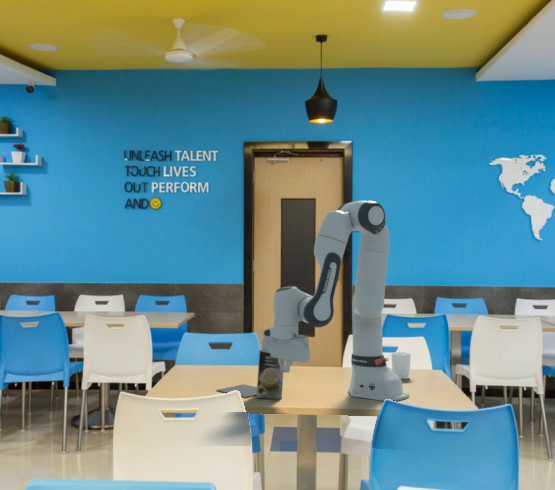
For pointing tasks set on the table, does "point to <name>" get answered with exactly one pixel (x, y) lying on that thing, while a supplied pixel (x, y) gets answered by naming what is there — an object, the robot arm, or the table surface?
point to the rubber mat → (242, 390)
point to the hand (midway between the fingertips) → (285, 372)
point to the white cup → (401, 364)
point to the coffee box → (269, 377)
